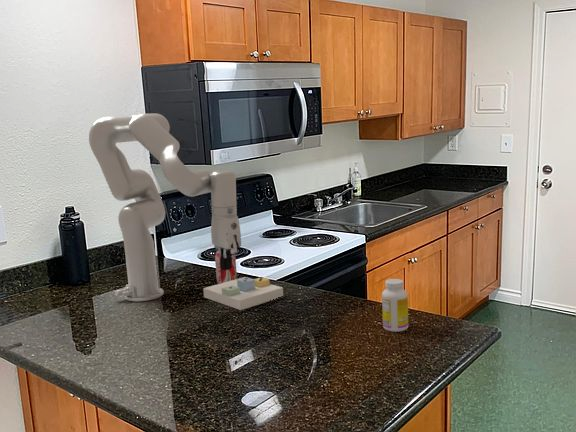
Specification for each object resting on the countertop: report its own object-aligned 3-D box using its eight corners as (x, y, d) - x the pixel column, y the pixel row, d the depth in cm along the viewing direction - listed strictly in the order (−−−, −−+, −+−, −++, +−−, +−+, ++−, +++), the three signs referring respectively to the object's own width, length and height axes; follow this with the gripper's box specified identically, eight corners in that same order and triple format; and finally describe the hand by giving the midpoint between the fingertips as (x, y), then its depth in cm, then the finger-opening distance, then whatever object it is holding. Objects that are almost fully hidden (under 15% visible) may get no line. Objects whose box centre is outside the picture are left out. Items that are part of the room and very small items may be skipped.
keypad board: (240, 310, 177) (239, 300, 176) (204, 297, 192) (203, 288, 191) (283, 296, 187) (282, 287, 187) (245, 285, 202) (245, 276, 202)
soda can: (234, 287, 201) (231, 253, 199) (214, 287, 202) (211, 253, 200) (239, 281, 207) (237, 248, 205) (220, 281, 209) (218, 248, 207)
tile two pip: (245, 294, 185) (244, 281, 184) (237, 292, 188) (236, 279, 187) (255, 291, 187) (254, 279, 187) (247, 289, 190) (246, 276, 190)
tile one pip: (230, 303, 181) (229, 290, 181) (222, 300, 184) (221, 287, 184) (240, 300, 184) (239, 287, 183) (233, 297, 187) (232, 284, 186)
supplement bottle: (410, 324, 157) (409, 278, 155) (406, 333, 151) (405, 285, 149) (385, 322, 160) (383, 277, 157) (380, 331, 154) (379, 284, 151)
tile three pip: (260, 293, 189) (259, 281, 188) (252, 291, 192) (252, 279, 191) (270, 291, 192) (269, 278, 191) (262, 288, 195) (261, 276, 194)
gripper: (248, 212, 176) (250, 271, 180) (220, 206, 187) (222, 262, 191) (228, 216, 171) (230, 276, 175) (200, 209, 182) (202, 266, 186)
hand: (226, 269), depth 183 cm, fingers closed
